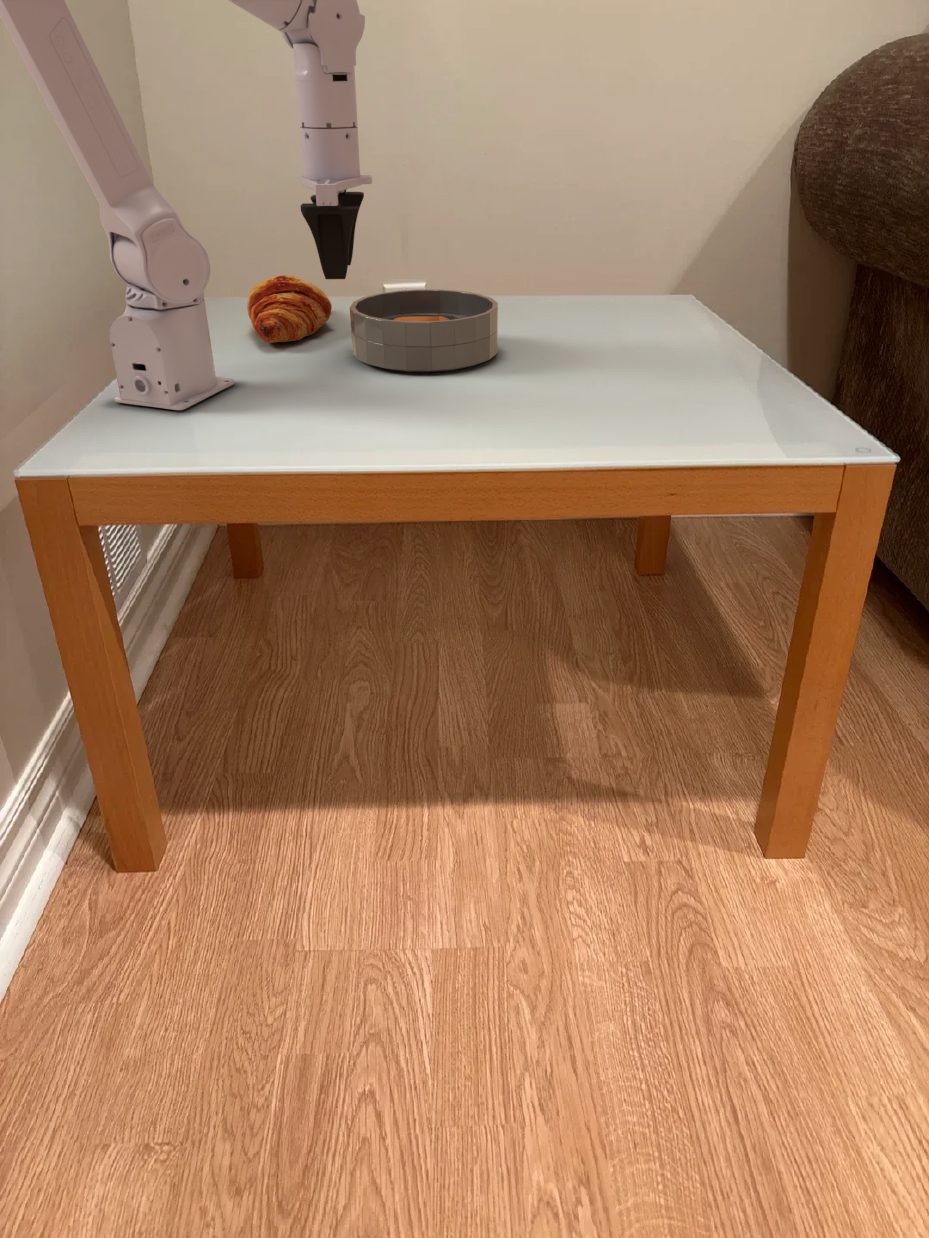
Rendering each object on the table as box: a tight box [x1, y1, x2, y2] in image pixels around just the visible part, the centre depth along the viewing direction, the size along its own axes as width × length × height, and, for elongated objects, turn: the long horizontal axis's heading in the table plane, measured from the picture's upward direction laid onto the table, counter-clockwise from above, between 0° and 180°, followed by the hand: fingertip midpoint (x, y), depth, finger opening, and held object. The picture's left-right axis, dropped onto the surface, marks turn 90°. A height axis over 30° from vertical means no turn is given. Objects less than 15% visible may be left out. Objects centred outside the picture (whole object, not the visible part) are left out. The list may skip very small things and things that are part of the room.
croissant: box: [246, 275, 333, 344], centre depth 113 cm, size 21×10×8 cm, turn 178°
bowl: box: [349, 288, 499, 373], centre depth 103 cm, size 16×16×6 cm
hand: (338, 271), depth 98 cm, fingers open, 7 cm apart
